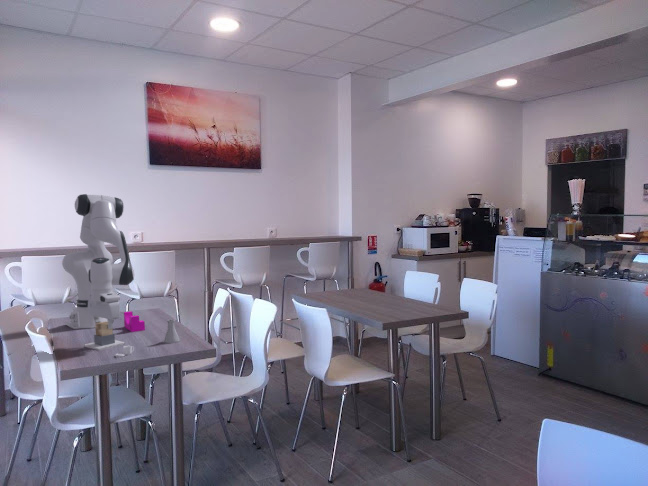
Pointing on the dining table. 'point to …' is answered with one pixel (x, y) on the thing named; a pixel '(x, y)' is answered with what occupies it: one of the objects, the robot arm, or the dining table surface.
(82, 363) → the dining table surface
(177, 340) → the flask
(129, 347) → the teacup and saucer
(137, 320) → the toy block
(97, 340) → the white platform base
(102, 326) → the beech block
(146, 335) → the dining table surface
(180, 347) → the dining table surface
